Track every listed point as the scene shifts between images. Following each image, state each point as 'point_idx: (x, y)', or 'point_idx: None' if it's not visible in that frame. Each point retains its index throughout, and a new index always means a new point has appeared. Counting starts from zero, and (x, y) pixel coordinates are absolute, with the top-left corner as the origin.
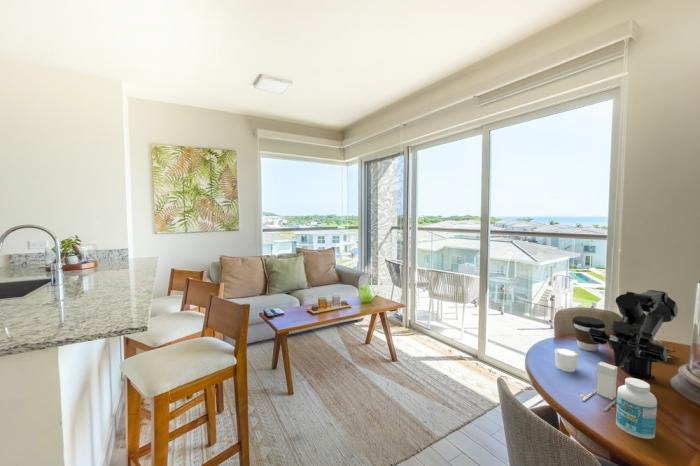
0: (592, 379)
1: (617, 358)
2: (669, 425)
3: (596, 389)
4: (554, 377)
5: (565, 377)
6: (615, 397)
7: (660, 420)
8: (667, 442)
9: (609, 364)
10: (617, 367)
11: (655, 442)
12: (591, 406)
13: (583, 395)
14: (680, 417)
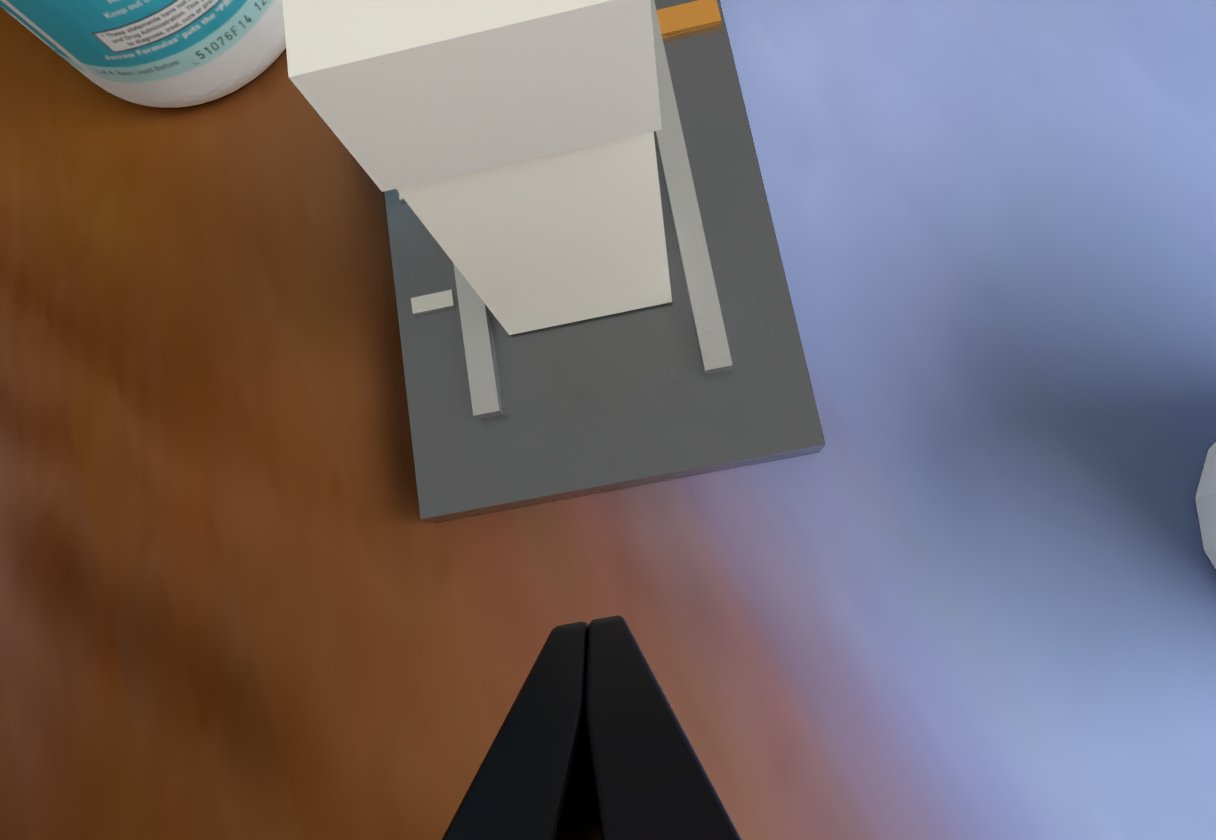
0: (980, 641)
1: (611, 763)
2: (77, 396)
3: (702, 269)
4: (1202, 170)
5: (1155, 314)
6: (507, 330)
7: (145, 407)
8: (26, 116)
9: (453, 25)
10: (297, 87)
11: None
12: None
13: (690, 23)
14: (53, 676)
